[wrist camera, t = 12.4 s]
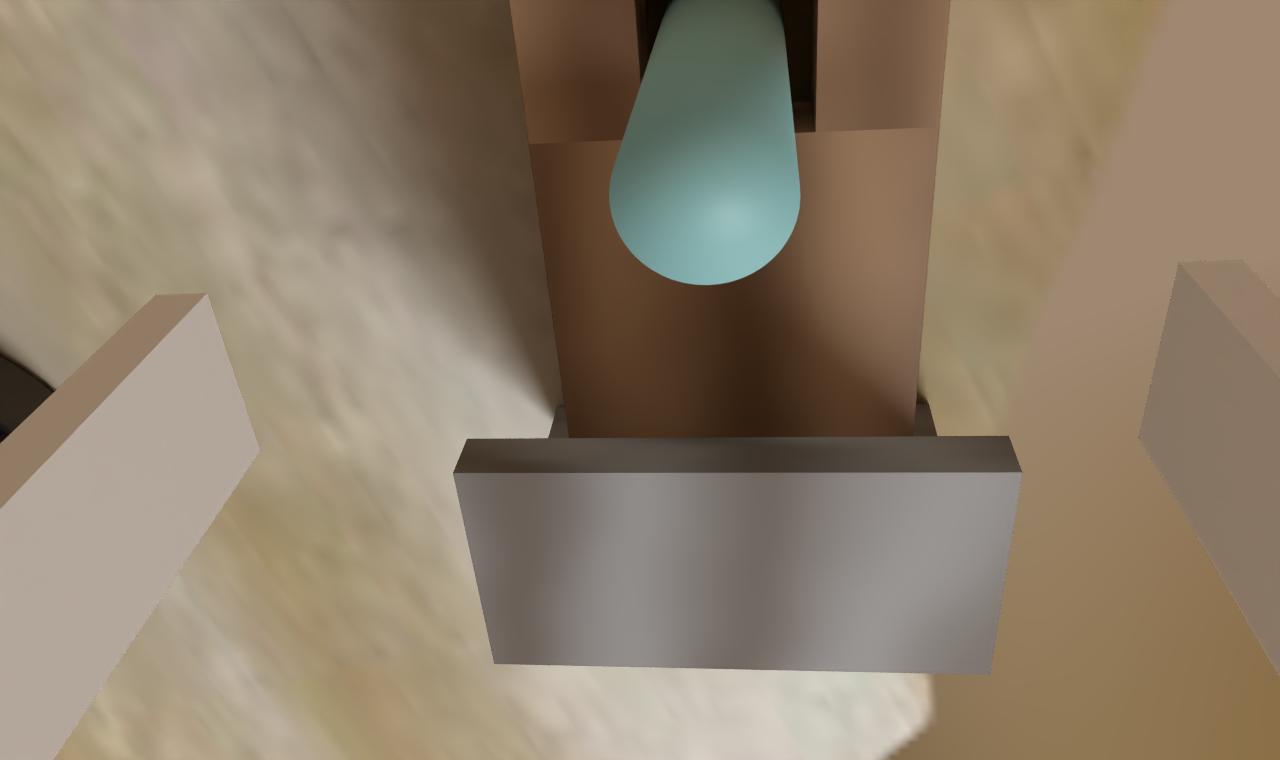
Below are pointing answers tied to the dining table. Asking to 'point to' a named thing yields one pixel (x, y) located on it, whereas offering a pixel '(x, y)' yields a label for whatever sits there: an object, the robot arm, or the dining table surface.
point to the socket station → (742, 393)
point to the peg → (710, 145)
